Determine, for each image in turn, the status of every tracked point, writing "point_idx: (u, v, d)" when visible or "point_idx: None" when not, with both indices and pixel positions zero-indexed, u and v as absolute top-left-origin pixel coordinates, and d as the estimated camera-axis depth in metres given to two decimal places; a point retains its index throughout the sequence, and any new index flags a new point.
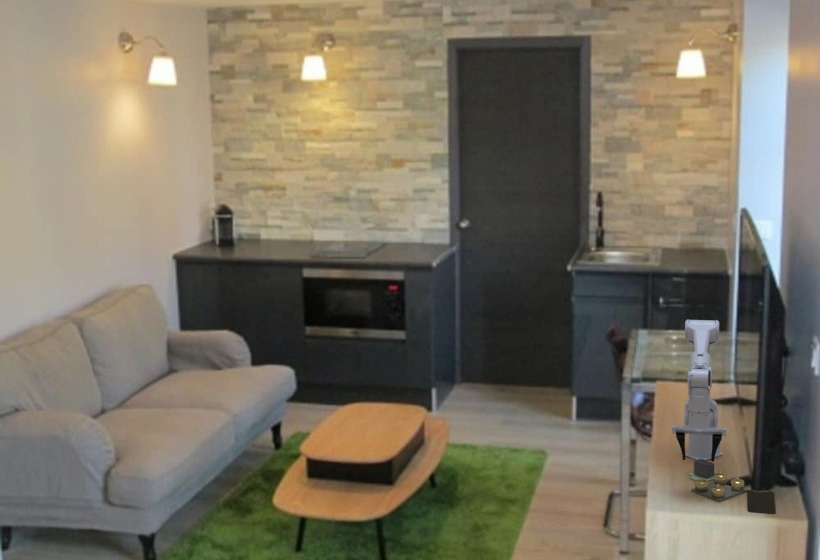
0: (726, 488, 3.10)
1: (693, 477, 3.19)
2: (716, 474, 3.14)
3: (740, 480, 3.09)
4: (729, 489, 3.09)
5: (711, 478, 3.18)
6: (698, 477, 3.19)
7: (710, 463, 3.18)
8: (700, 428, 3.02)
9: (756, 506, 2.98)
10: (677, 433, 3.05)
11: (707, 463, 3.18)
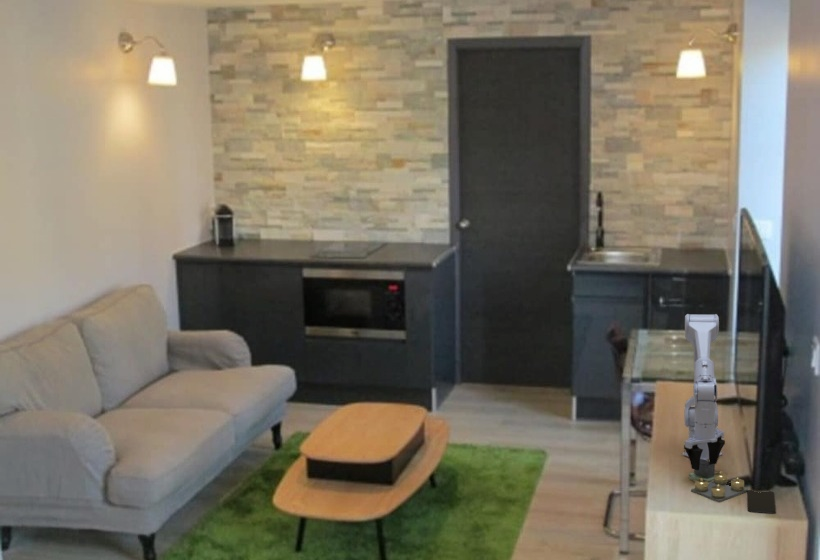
0: (726, 488, 3.10)
1: (693, 477, 3.19)
2: (716, 474, 3.14)
3: (740, 480, 3.09)
4: (729, 489, 3.09)
5: (711, 478, 3.18)
6: (698, 477, 3.19)
7: (710, 463, 3.18)
8: (713, 437, 3.16)
9: (756, 506, 2.98)
10: (693, 447, 3.14)
11: (707, 463, 3.18)
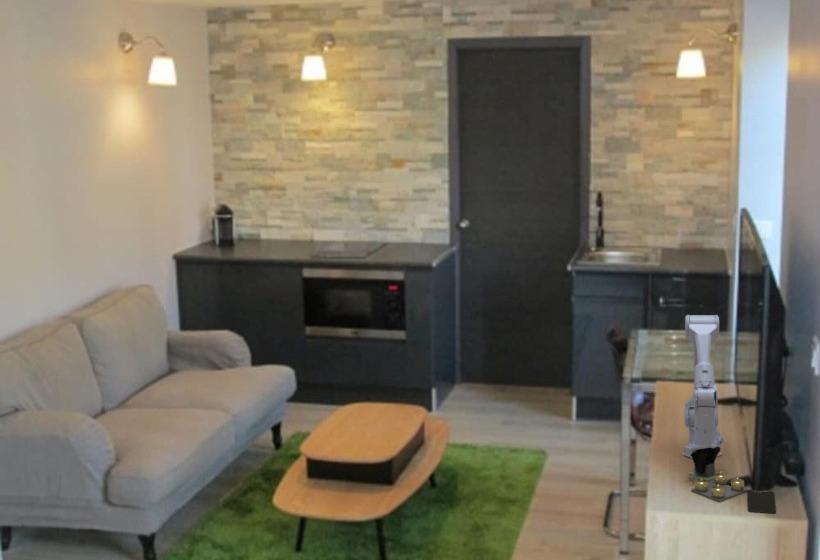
0: (726, 488, 3.10)
1: (693, 477, 3.19)
2: (716, 474, 3.14)
3: (740, 480, 3.09)
4: (729, 489, 3.09)
5: (711, 477, 3.17)
6: (698, 476, 3.19)
7: (710, 462, 3.18)
8: (713, 443, 3.16)
9: (756, 506, 2.98)
10: (698, 451, 3.16)
11: (707, 463, 3.18)
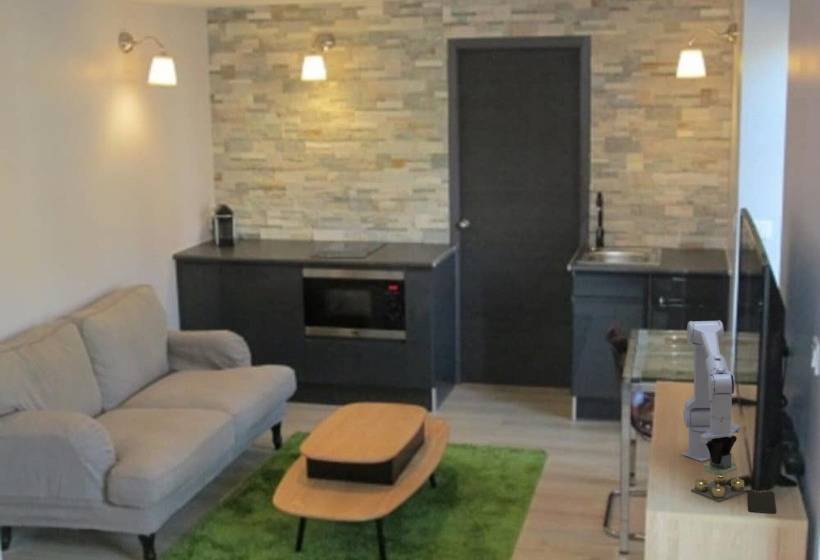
0: (726, 488, 3.10)
1: (709, 468, 3.06)
2: (716, 474, 3.14)
3: (740, 480, 3.09)
4: (729, 489, 3.09)
5: (728, 469, 3.05)
6: (714, 468, 3.06)
7: (727, 453, 3.06)
8: (729, 432, 3.04)
9: (756, 506, 2.98)
10: (713, 440, 3.04)
11: (723, 454, 3.06)
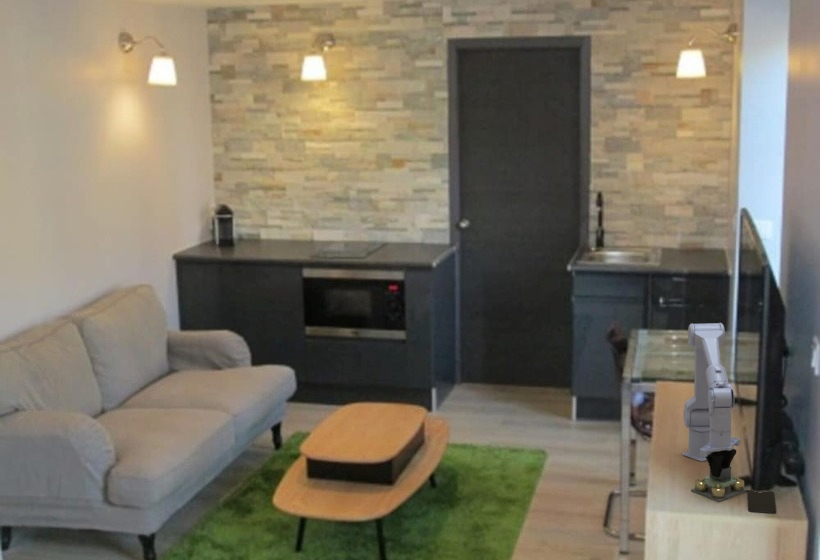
0: (726, 488, 3.10)
1: (708, 481, 3.07)
2: None
3: (740, 480, 3.09)
4: (729, 489, 3.09)
5: (727, 482, 3.06)
6: (714, 481, 3.07)
7: (726, 466, 3.07)
8: (729, 445, 3.04)
9: (757, 506, 2.98)
10: (713, 453, 3.04)
11: (723, 467, 3.06)
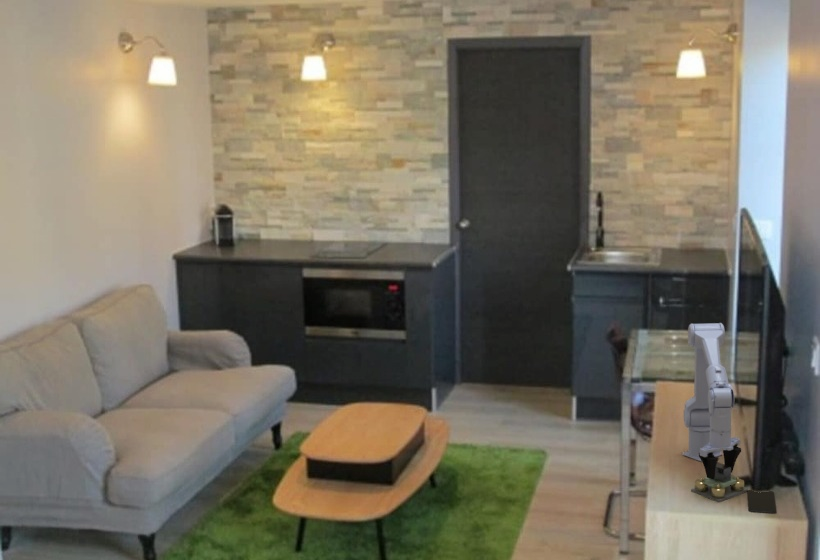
0: (726, 488, 3.10)
1: (708, 481, 3.07)
2: None
3: (740, 480, 3.09)
4: (729, 489, 3.09)
5: (727, 482, 3.06)
6: (714, 481, 3.07)
7: (726, 466, 3.07)
8: (729, 445, 3.04)
9: (757, 506, 2.98)
10: (708, 455, 3.03)
11: (723, 467, 3.06)
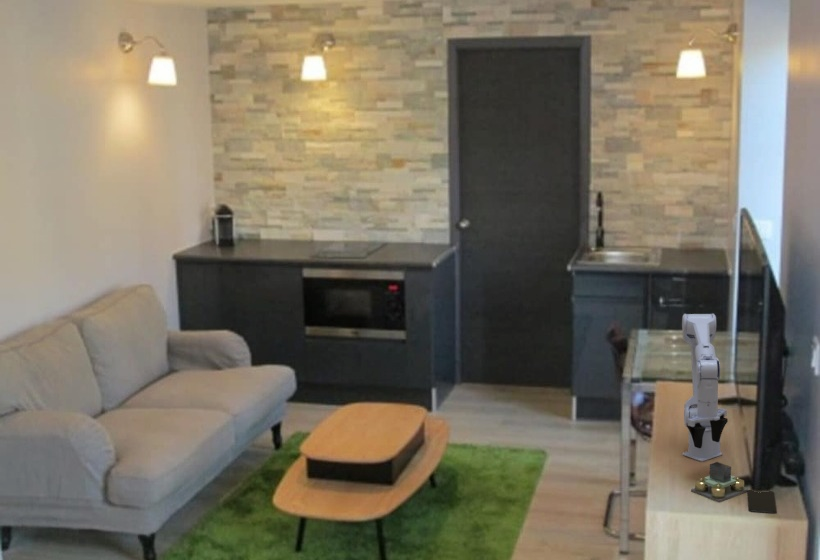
0: (726, 488, 3.10)
1: (708, 481, 3.07)
2: None
3: (740, 480, 3.09)
4: (729, 489, 3.09)
5: (727, 482, 3.06)
6: (714, 481, 3.07)
7: (726, 466, 3.07)
8: (716, 415, 3.16)
9: (757, 506, 2.98)
10: (696, 425, 3.15)
11: (723, 467, 3.06)
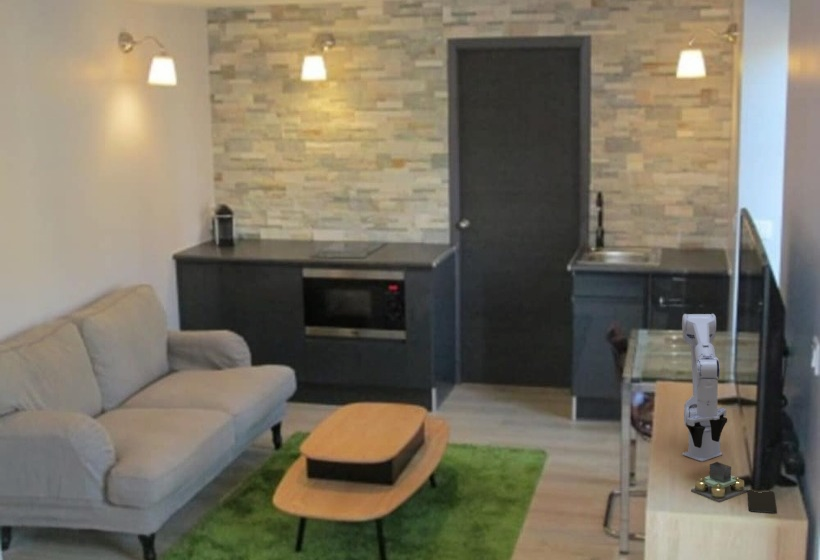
0: (726, 488, 3.10)
1: (708, 481, 3.07)
2: None
3: (740, 480, 3.09)
4: (729, 489, 3.09)
5: (727, 482, 3.06)
6: (714, 481, 3.07)
7: (726, 466, 3.07)
8: (715, 415, 3.16)
9: (757, 506, 2.98)
10: (695, 424, 3.15)
11: (723, 467, 3.06)
